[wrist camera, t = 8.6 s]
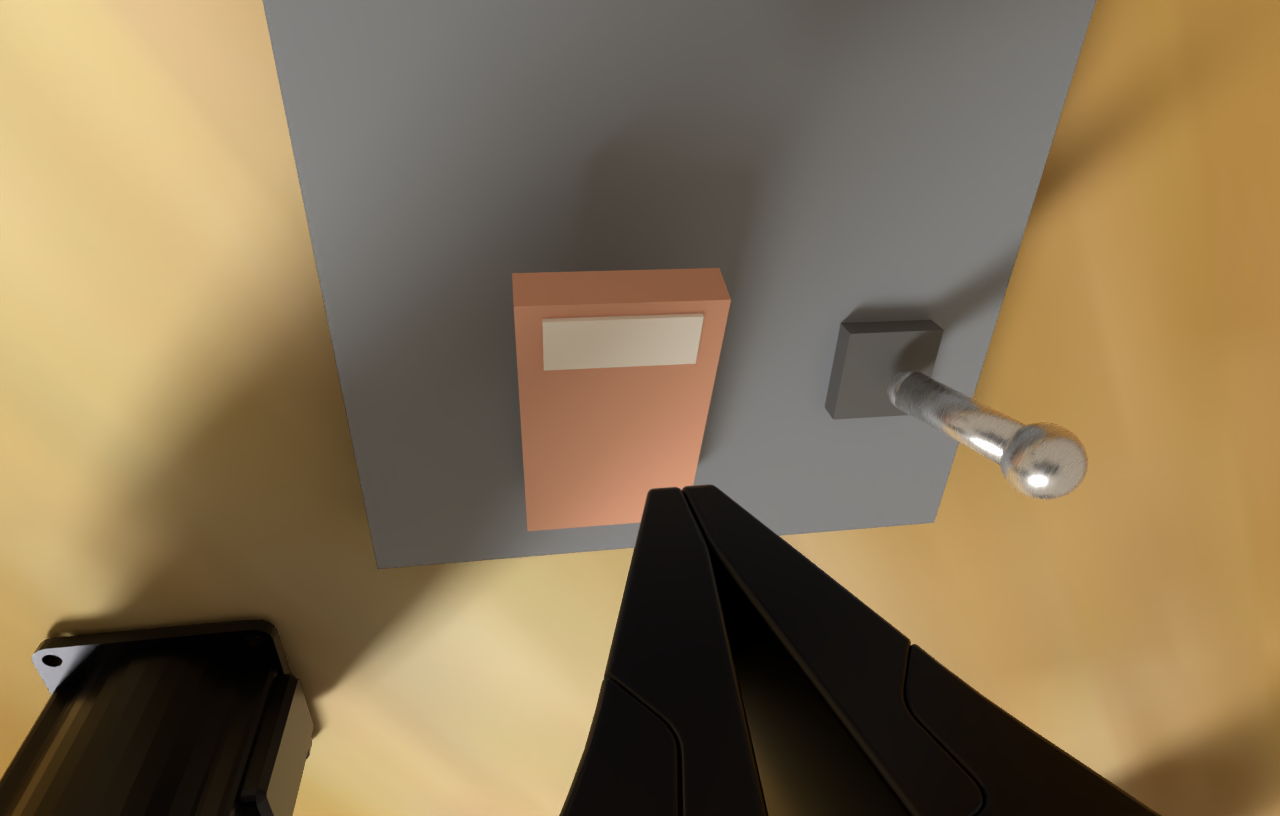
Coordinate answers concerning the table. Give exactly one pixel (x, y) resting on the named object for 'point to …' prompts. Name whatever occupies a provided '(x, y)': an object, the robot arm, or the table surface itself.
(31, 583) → the table surface
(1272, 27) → the table surface
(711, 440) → the switch panel
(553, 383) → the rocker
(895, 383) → the toggle
